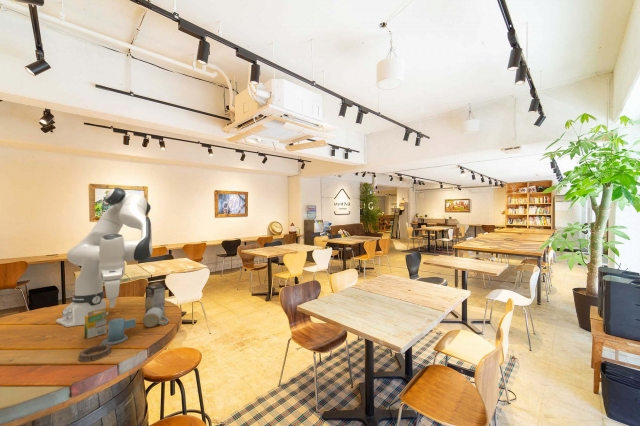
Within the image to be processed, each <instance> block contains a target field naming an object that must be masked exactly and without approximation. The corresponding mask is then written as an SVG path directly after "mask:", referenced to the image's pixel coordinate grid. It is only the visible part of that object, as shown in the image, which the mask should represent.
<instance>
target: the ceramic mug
mask: <svg viewBox="0 0 640 426" xmlns="http://www.w3.org/2000/svg"><path fill="white" fill-rule="evenodd" d="M162 320H163V321H162ZM168 323H169V317H166V316H163V311H162V310H161V309H160V308H157V307H155V308H151V309H149V310H148V311H147V313H146V315H145V314H144V317H143V319H142V324H143V325H144V326H145V327H146V328H154V327H156V326H157V325H168Z"/></svg>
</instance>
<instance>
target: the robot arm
mask: <svg viewBox="0 0 640 426" xmlns="http://www.w3.org/2000/svg"><path fill="white" fill-rule="evenodd" d="M104 200H105V203H107V204H108V205H109V206H110V207H108V208H107V210H105V211H104V213H103V214H102V215H101V216H100V217H99V219H98V221H97V222H96V223H95V225H94V226H93V228H92V229H91V231H90V232H89V233H88V234H87V235H86V236H85V237H84V238H83V239H82V240H81V241H80V242H79V243H78V244H77V245H75V246H73V247H72V248H70V249H69V250H68V252H67V253H66V259H67V261H68V262H69V263H70V264H73V265H74V266H78V267H81V268H80V272H79V274H78V276H76V278H75V280H74V294H73V295H71V296H72V297H71V298H72V299H71V302H70V304H68V305H67V306H66V307H64V309H63V311H61V316H62V317H60V318H57V319H56V320H55V321H56V323H58V324H60V325H62V326H63V327H65V328H69V327H75V326H85V316H86V315H88V312H92V311H96V310H100V309H104V308H107V303H106V299H107V300H108V301H109V302H108V303H109V308H111V309H113V308H115V307H116V300H117V298H119V293H120V285H121V281H122V279H123V277H124V276H125V274H126V265H125V262H130V261H131V262H132V261H133V262H135V261H136V262H145V261H147V260H148V259H150V258H151V257H152V255H153V249H154V248H153V244H152V222H151V219H150V217H149V216H147V215H149V214H150V211H151V209H152V208H151V205H150V203H148V202H147V199H146V197H145V196H143V195H142V194H138V193H131V192H130V191H127V190H125V189H124V188H121V187H114V188H112V189H110V190H108V192H107V193H106V195H105V197H104ZM124 225H125V226H126V227H128V228H132V229H137V230H139V231H141V233H140V235H141V236H140V237H141V238H138V239H133V240H132V239H131V240H130V239H129V240H125V239H124V235H123V234H119V233H120V231H121V230H122V228H123V226H124ZM104 289H105V291H104ZM104 296H105V297H106V299H104V298H105V297H104ZM98 312H102V311H97V312H94V313H98ZM94 313H93V314H94ZM108 315H109V312H107V316H108Z"/></svg>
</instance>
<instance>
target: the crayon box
mask: <svg viewBox="0 0 640 426" xmlns="http://www.w3.org/2000/svg"><path fill="white" fill-rule="evenodd" d="M107 310H108V307H106V308H104V309H100V310H96V311H92V312H88V315H86V316H85V325H84V339H86V340H89V339H91V338H95V337H98V336H101V335H104V334H108V321H107V319H108V317H107V316H108V315H107ZM97 311H102V312H98V313H94V312H97ZM93 313H94V314H93Z"/></svg>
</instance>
